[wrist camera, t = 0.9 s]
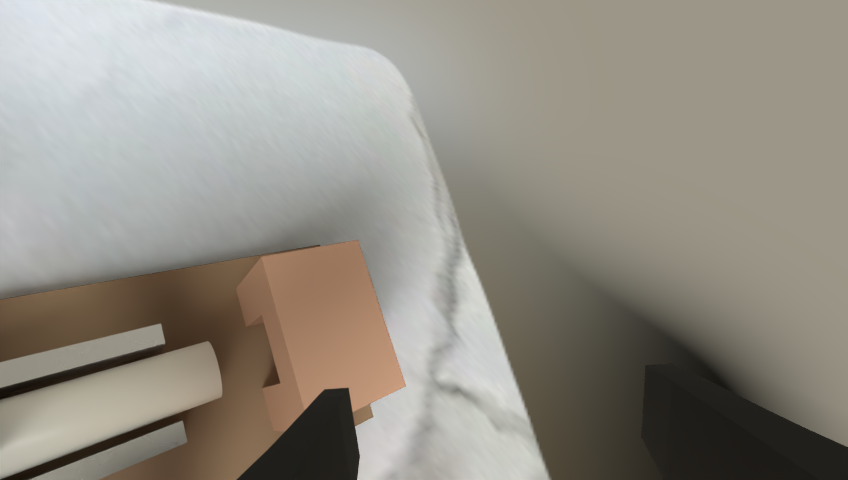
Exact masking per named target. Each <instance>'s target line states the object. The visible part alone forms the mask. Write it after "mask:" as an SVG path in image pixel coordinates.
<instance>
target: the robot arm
mask: <svg viewBox="0 0 848 480" xmlns="http://www.w3.org/2000/svg"><path fill="white" fill-rule="evenodd" d="M643 401H644V402H643V418H642V434H641V437H642V439H643V441H644V443H645V445H646V447H647V449H648V451H649V453H650V455H651V457H652V459H653V461H654V463H655V465H656V466H657V468H658V470H659V472H660V474H661V476H662V477H663V479H664V480H848V447H846V446H844V445H841V444H839V443H837V442H835V441H832V440H830V439H828V438H826V437H824V436H821V435H819V434H817V433H815V432H813V431H810V430H808V429H806V428H804V427H802V426H800V425H798V424H795V423H793V422H791V421H789V420H787V419H785V418H783V417H780V416H779V415H777V414H774V413H773V412H770V411H768V410H766V409H764V408H762V407H760V406H758V405H756V404H754V403H752V402H750V401H748V400H746V399H744V398H742V397H740V396H738V395H736V394H734V393H732V392H730V391H728V390H726V389H724V388H722V387H720V386H718V385H716V384H714V383H712V382H710V381H708V380H706V379H704V378H702V377H700V376H698V375H696V374H694V373H692V372H690V371H688V370H685V369H683V368H681V367H679V366H676V365H674V364H660V365H646V366H645V384H644V400H643ZM359 458H360V455H359V449H358V443H357V436H356V430H355V424H354V418H353V412H352V405H351V399H350V393H349V388H336V389H324V390H323V391H322V392H321V393H320V394H319V395H318V396H317V397H316V399H315V400H314V401H313V402H312V403H311V404H310V405H309V406H308V407H307V408H306V409H305V410H304V412H303V413H302V414H301V415H300V416H299V417H298V418H297V419H296V420H295V421H294V422H293V423H292V425H291V426H290V427H289V428H288V429H287V430H286V431H285V432H284V433H283V434H282V435H281V436H280V437H279V438H278V439H277V440H276V441H275V442H274V443H273V445H272V446H271V447H270V448H269V449H268V450H267V451H266V452H265V453H264V454H262V455H261V456H260V457H259V458H258V459H257V460H256V461H255V462H254V463H253V464H252V465H251V466H250V467H249V468H248V469H247V470H246V471H245V472H244V473H243V474H242V475H241V476H240V477H239V478H238V479H236V480H357V475H358V466H359Z"/></svg>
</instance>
